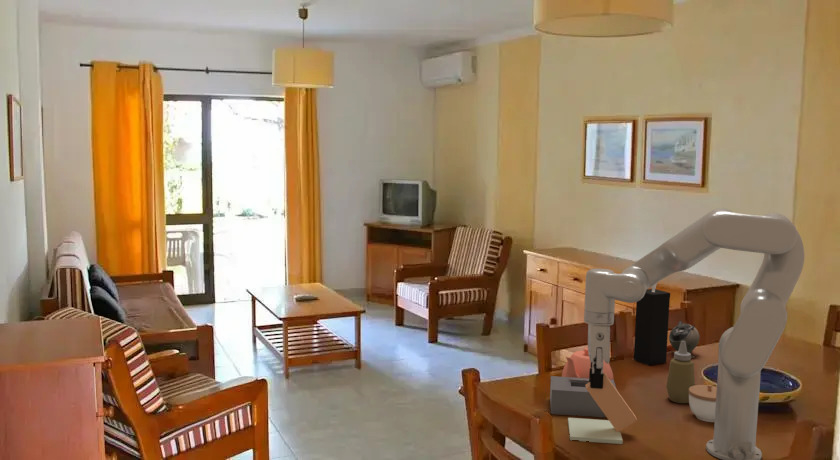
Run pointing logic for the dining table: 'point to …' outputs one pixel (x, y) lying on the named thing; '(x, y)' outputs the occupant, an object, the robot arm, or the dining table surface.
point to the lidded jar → (703, 401)
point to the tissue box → (652, 327)
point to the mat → (593, 431)
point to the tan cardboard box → (612, 404)
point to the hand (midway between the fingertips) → (595, 385)
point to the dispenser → (573, 397)
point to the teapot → (582, 366)
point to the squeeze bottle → (680, 375)
